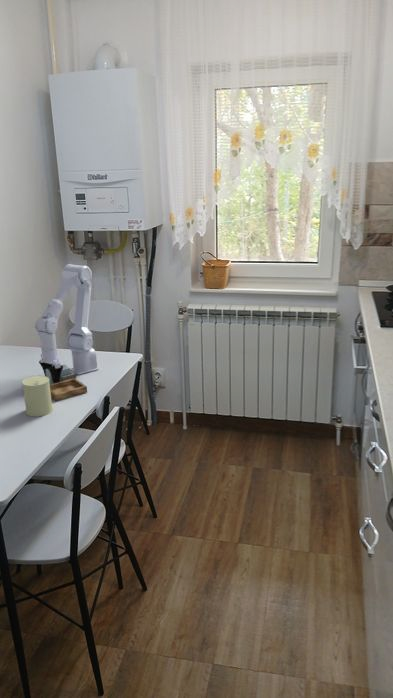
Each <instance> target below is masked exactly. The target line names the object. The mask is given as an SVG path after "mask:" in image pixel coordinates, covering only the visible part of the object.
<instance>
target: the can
mask: <svg viewBox="0 0 393 698" xmlns="http://www.w3.org/2000/svg"><path fill="white" fill-rule="evenodd" d="M21 384H22V390H23V397H24V403H25V404H24V405H25V413H26V415H28V416H30V417H43V416H46V415H48V414H50V413H51V412H53V410H54V407H53V402H52V398H51V393H50V384H49V378H48V377H46V376H45V375H34V376H30V377H27V378H25V379H23V380H22V382H21Z"/></svg>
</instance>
